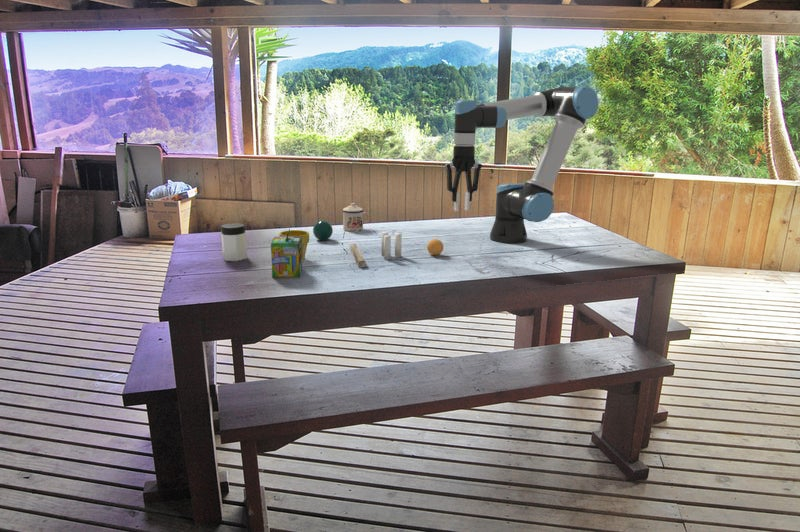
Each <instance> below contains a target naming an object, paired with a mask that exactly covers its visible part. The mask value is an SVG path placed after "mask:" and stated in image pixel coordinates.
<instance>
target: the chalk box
mask: <svg viewBox="0 0 800 532" xmlns="http://www.w3.org/2000/svg"><path fill="white" fill-rule="evenodd" d="M290 230H291V229H290V228H289V229H288V230H287V231H288V233H287V237H279V236H274V237H273V239H272V241H271V243H270V253H271V254H270V255H271V258H270V259H271V278H273V279H274V278H301V275H302V272H303V261H302V237H288V236H289V231H290Z"/></svg>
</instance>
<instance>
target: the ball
mask: <svg viewBox="0 0 800 532" xmlns="http://www.w3.org/2000/svg"><path fill="white" fill-rule="evenodd" d="M426 249H427V251H428V253H429V254H430V255H432V256H439V255H441V254H442V253H443V251H444V244H443V242H442V241H441V240H440V239H437V238H433V239H431V240H430V241H428V243H427V246H426Z"/></svg>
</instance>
